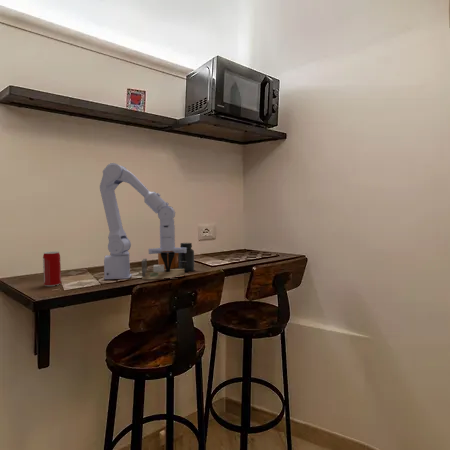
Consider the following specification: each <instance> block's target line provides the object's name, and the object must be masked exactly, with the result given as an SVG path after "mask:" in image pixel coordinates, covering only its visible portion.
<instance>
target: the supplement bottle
mask: <svg viewBox="0 0 450 450" xmlns="http://www.w3.org/2000/svg"><path fill="white" fill-rule="evenodd" d="M179 248H186V253H178V268H177V269H184V271H185V273H191V272H194V271H195V251H194V249H193V245H192V242H180V247H179Z"/></svg>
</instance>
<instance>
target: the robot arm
mask: <svg viewBox="0 0 450 450" xmlns="http://www.w3.org/2000/svg"><path fill="white" fill-rule="evenodd" d="M122 183H127V184H129V185H130V186H131V187H132V188H133V189H135V190H136V191H137V192H138V193H139V194H140V195H141V196H142V197H143V198H144V199H143V200H144V203H145V204H146V205H147V207H149V208H150V209H151V210H152V211H153V212H154V213H155V214H157V217H158V219H159V246H160V247H157V248H155V247H153V248H148V255H153V254H155V255H158V254H160V253H161V257H162V259H163V262H164V264H165V267H166V272H170V267H171V263H172V260H173V258H174V255H175V253H186V248H181V247H176V239H175V238H176V233H175V232H176V228H175V227H176V225H175V217H176V211H175V209H174V207H173V206H170V205H169V202H167V201H165V200H164V199H163V198H162V197H161V194H160V193H159V192H156V191H150V190H149V189H148V188H147V187H146V186H145V185H144V184H143V182H142V181H140V179H139V178H138V176H136V175H135V174H134V173H133V172H131V171H130V170H128V169H127V168H126V167H125V166H123V165H120V164H118V163H116V162H110V163H108V164H107V165H106V167H105V168H104V169H103V170H102V176H101V180H100V184H99V191H100V196H101V200H102V203H103V209H104V213H105V218H106V222H107V226H108V231H109V233H108V236H107V237H108V239H107V240H108V243H107V250H108V252H109V253H110V254H109V255H107V254H106V255H105V256H104V259H103V269H104V270H103V271H104V272H103V273H104V274H103V275H104V277H103V279H104V280H117V279H118V280H119V279H120V280H121V279H123V280H124V279H130V278H131V277H132V275H133V273H131V265H130V264H131V263H130V261H131V260H130V252H129V250H130V249H131V246H132V243H131V240H130V239H129V238H128V236H127V233H126V231H125V229H124V227H123V223H122V219H121V214H120V210H119V206H118V201H117V197H116V192H115V191H116V189H117V188H118V186H119V185H121V184H122ZM163 251H173V252H163Z"/></svg>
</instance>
